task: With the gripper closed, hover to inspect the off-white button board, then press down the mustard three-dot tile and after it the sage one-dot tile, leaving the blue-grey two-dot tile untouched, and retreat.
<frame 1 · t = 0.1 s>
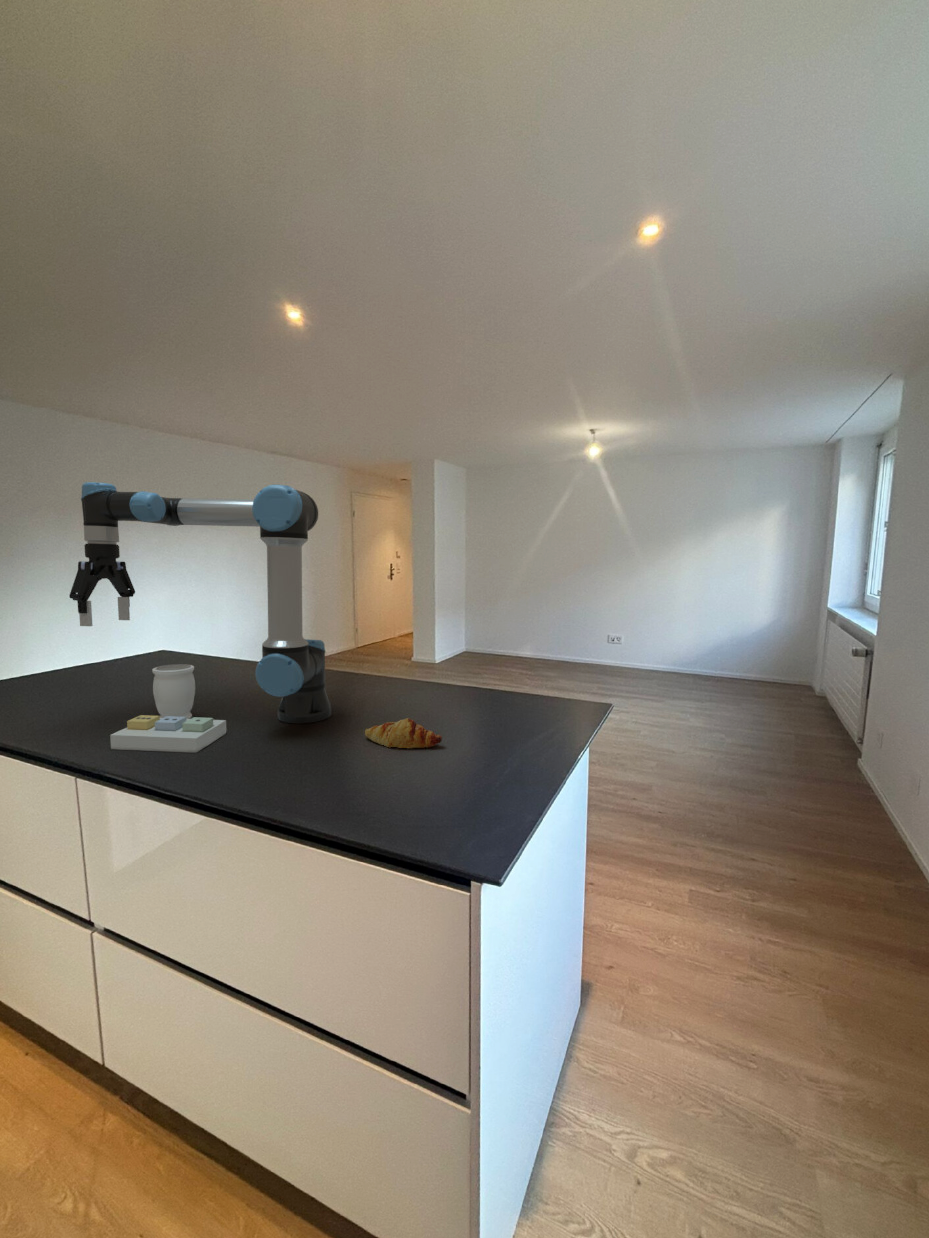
hand: (106, 623, 138), 28 cm above the countertop, fingers open, 13 cm apart
jar: (175, 719, 146), on the countertop
croissant: (402, 744, 132), on the countertop
tile one: (198, 726, 128), point 4 cm above the countertop, slide at 0.0 cm
tile three: (143, 724, 129), point 4 cm above the countertop, slide at 0.0 cm
button board: (171, 740, 129), on the countertop
tile two: (171, 725, 129), point 4 cm above the countertop, slide at 0.0 cm
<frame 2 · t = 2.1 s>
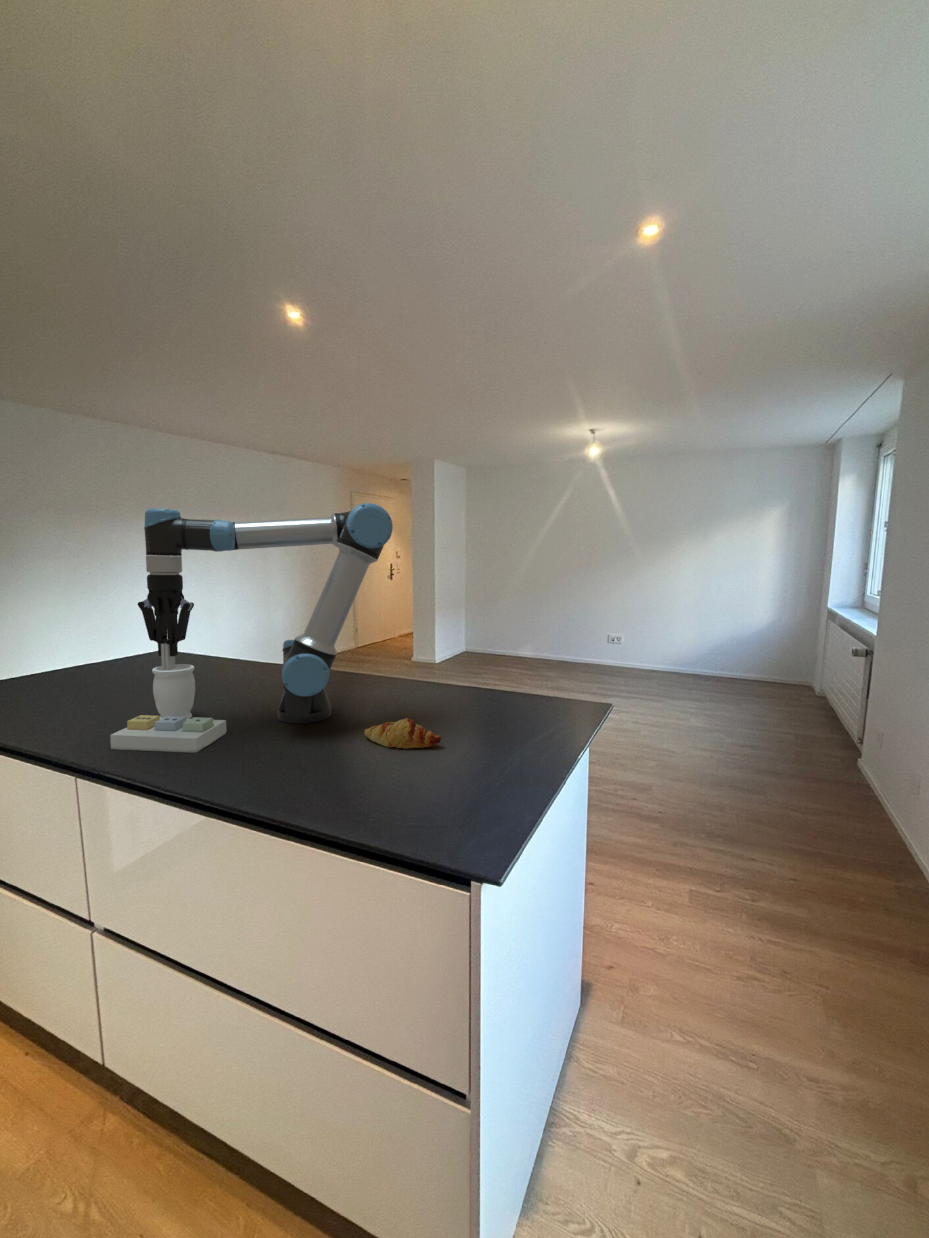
hand: (168, 669, 127), 18 cm above the countertop, fingers closed
nothing on the countertop moved.
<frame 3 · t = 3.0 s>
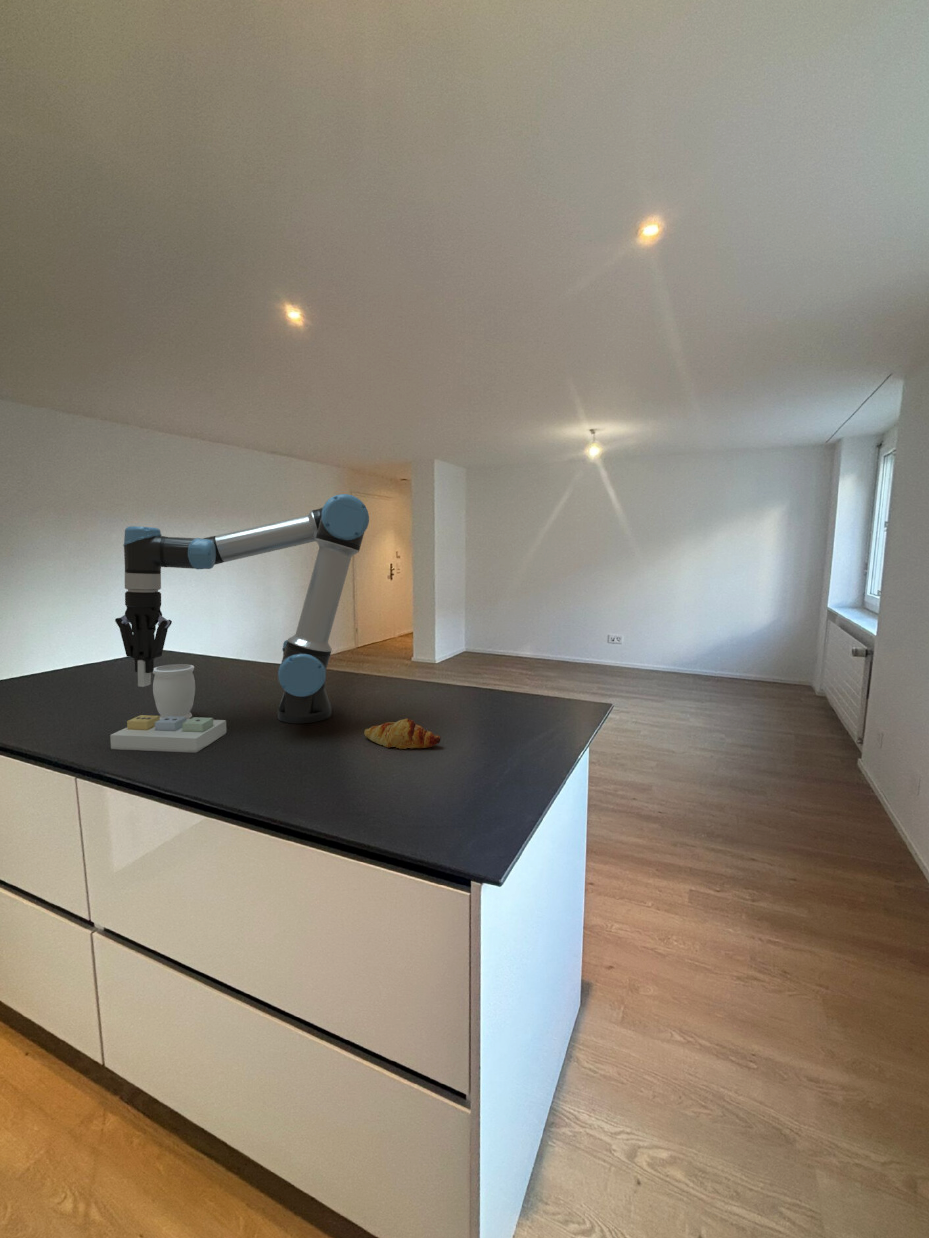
hand: (144, 685, 128), 14 cm above the countertop, fingers closed
nothing on the countertop moved.
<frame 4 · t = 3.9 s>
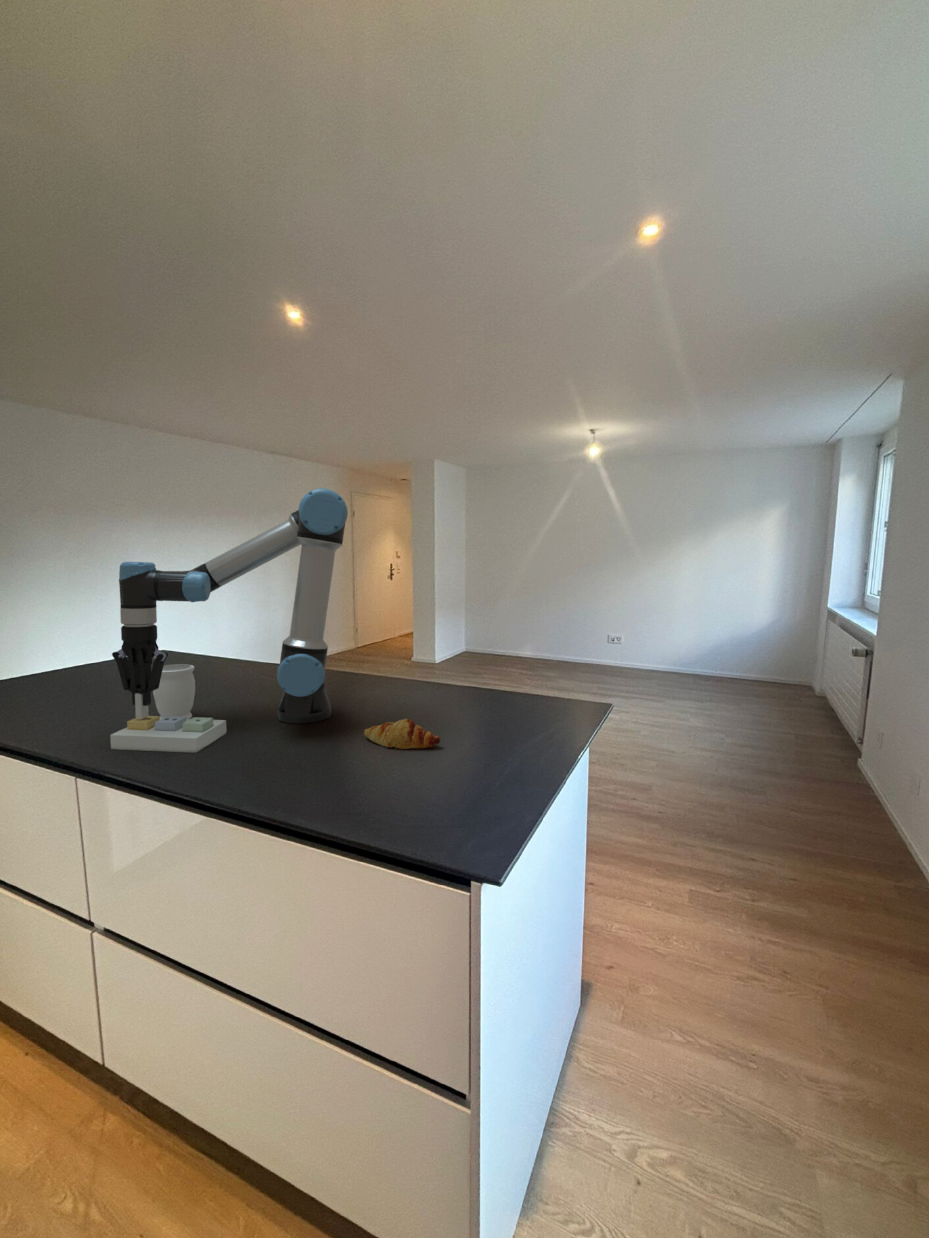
hand: (142, 717, 129), 6 cm above the countertop, fingers closed
tile three: (143, 724, 129), point 4 cm above the countertop, slide at 0.1 cm, touching gripper
everything else where it was.
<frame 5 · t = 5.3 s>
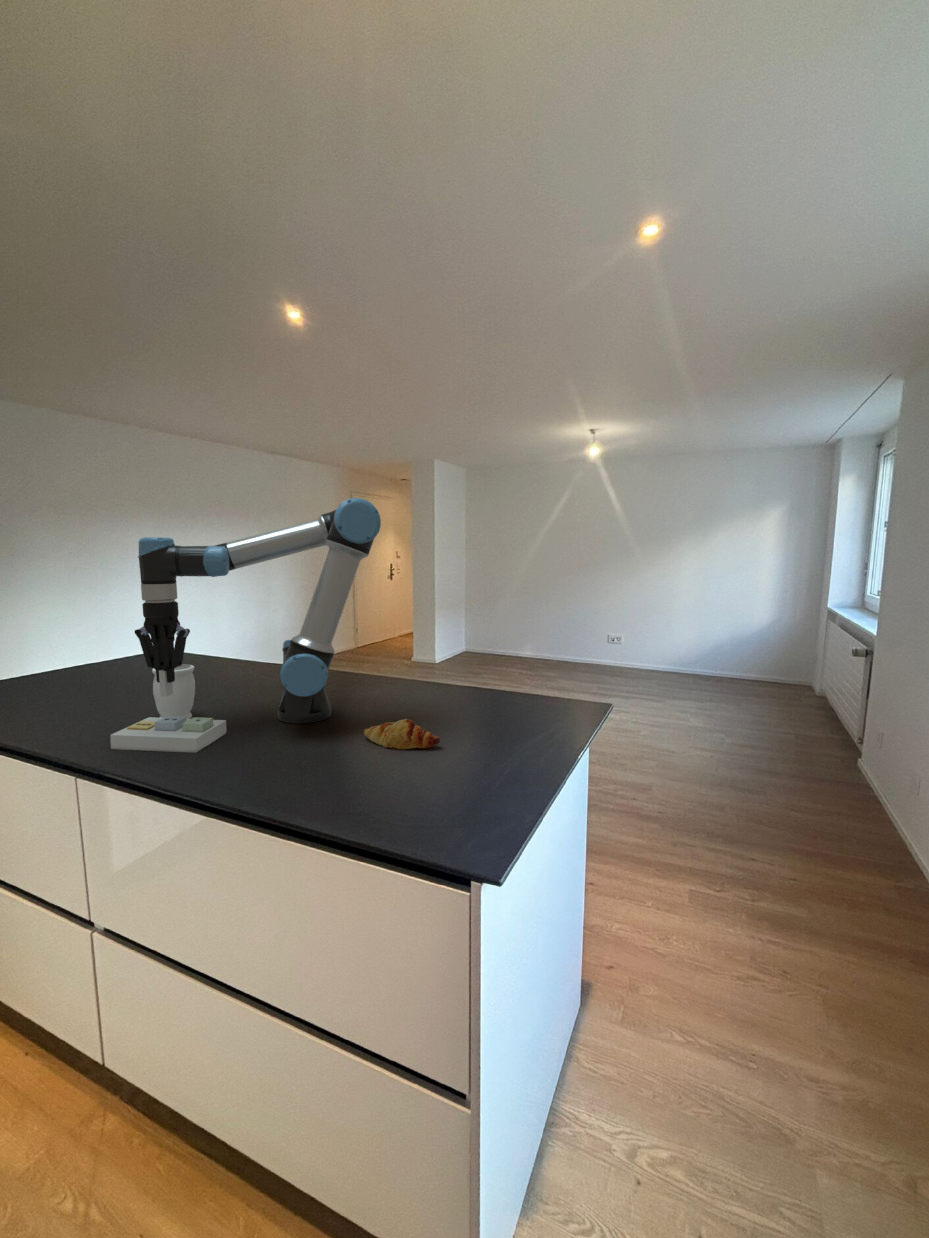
hand: (166, 694, 128), 12 cm above the countertop, fingers closed
tile three: (144, 730, 129), point 2 cm above the countertop, slide at 1.6 cm
everything else where it was.
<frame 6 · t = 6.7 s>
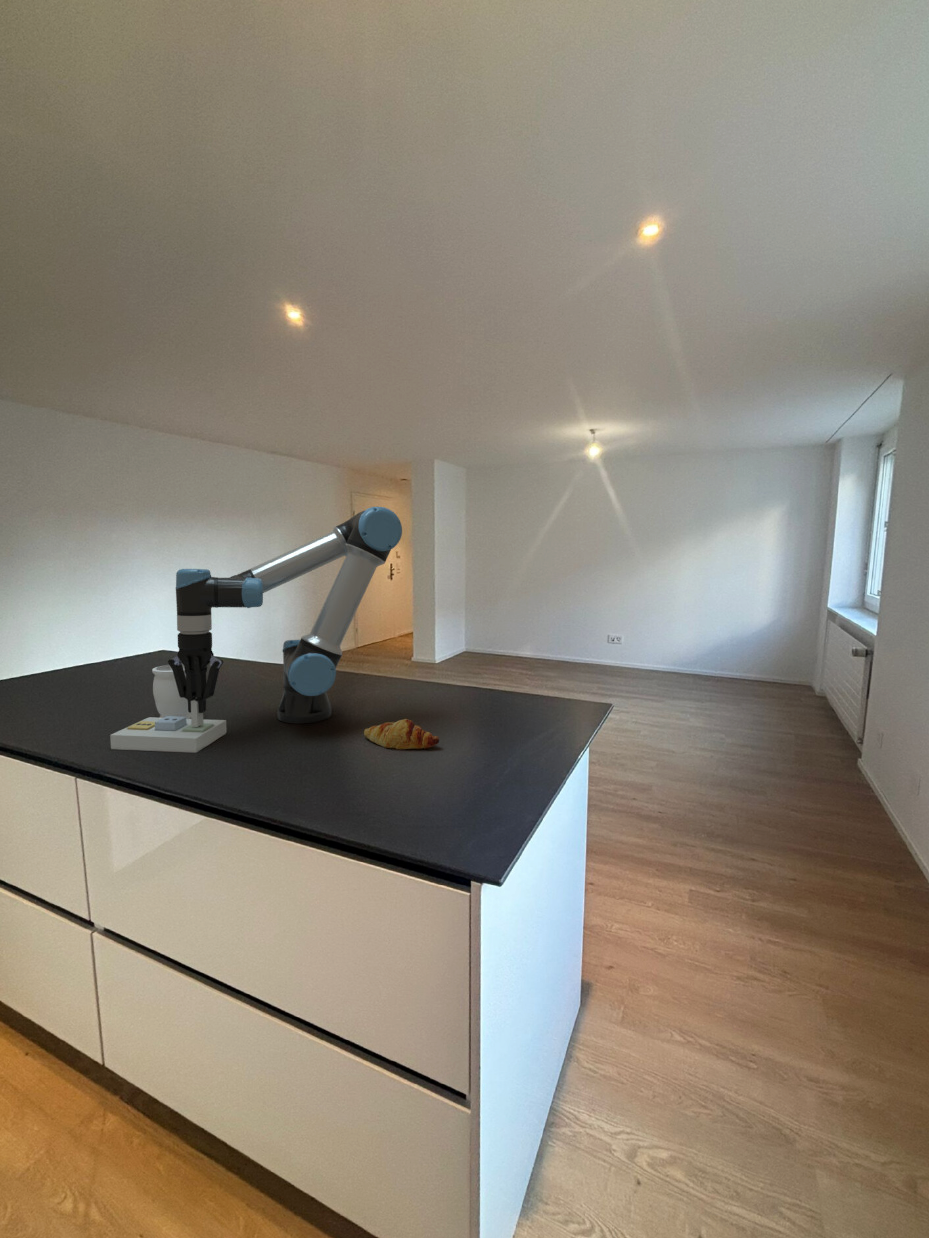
hand: (197, 724, 128), 4 cm above the countertop, fingers closed
tile one: (198, 731, 129), point 3 cm above the countertop, slide at 1.5 cm, touching gripper
everything else where it was.
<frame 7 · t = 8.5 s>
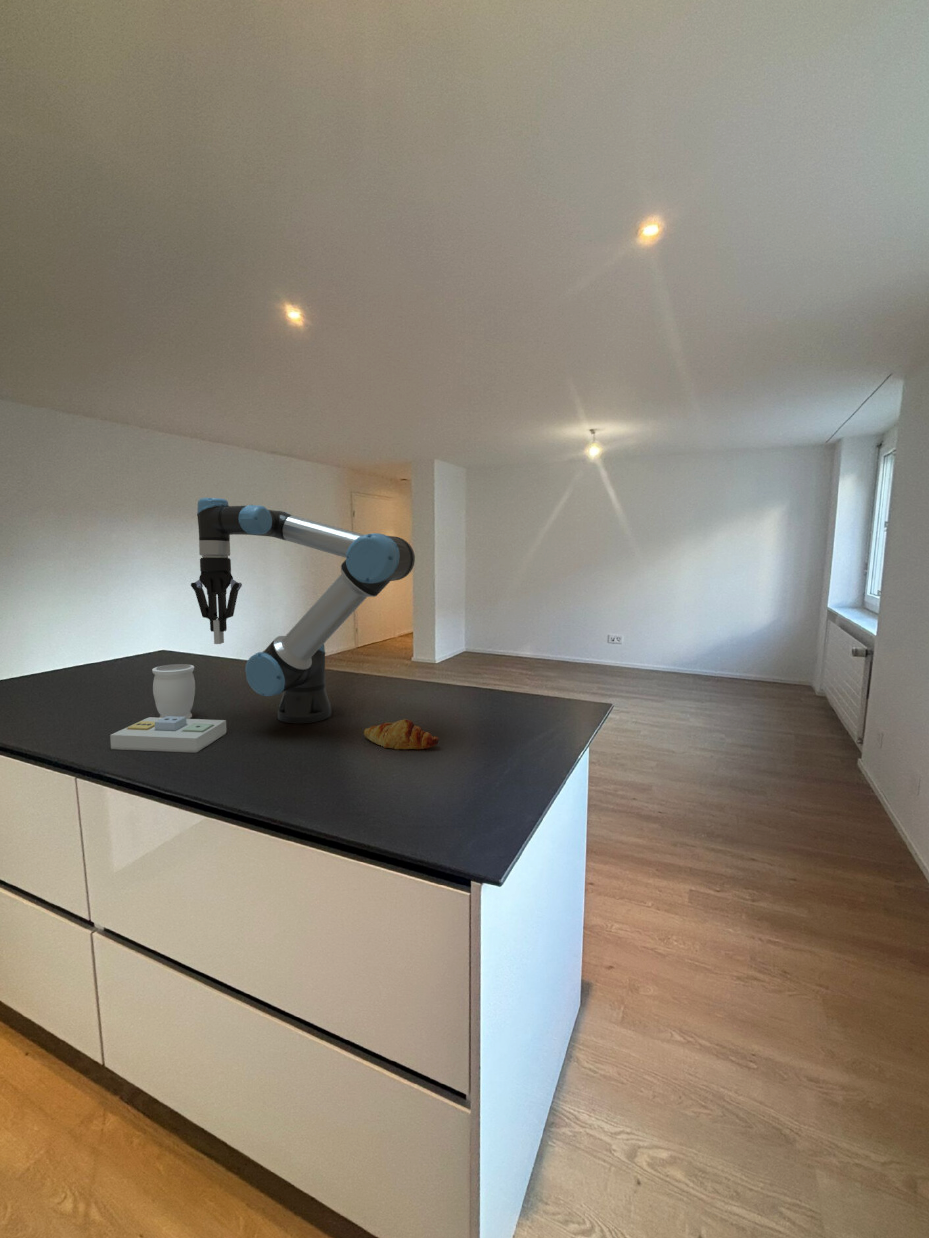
hand: (219, 643, 141), 23 cm above the countertop, fingers closed
tile one: (198, 732, 129), point 2 cm above the countertop, slide at 1.6 cm
everything else where it was.
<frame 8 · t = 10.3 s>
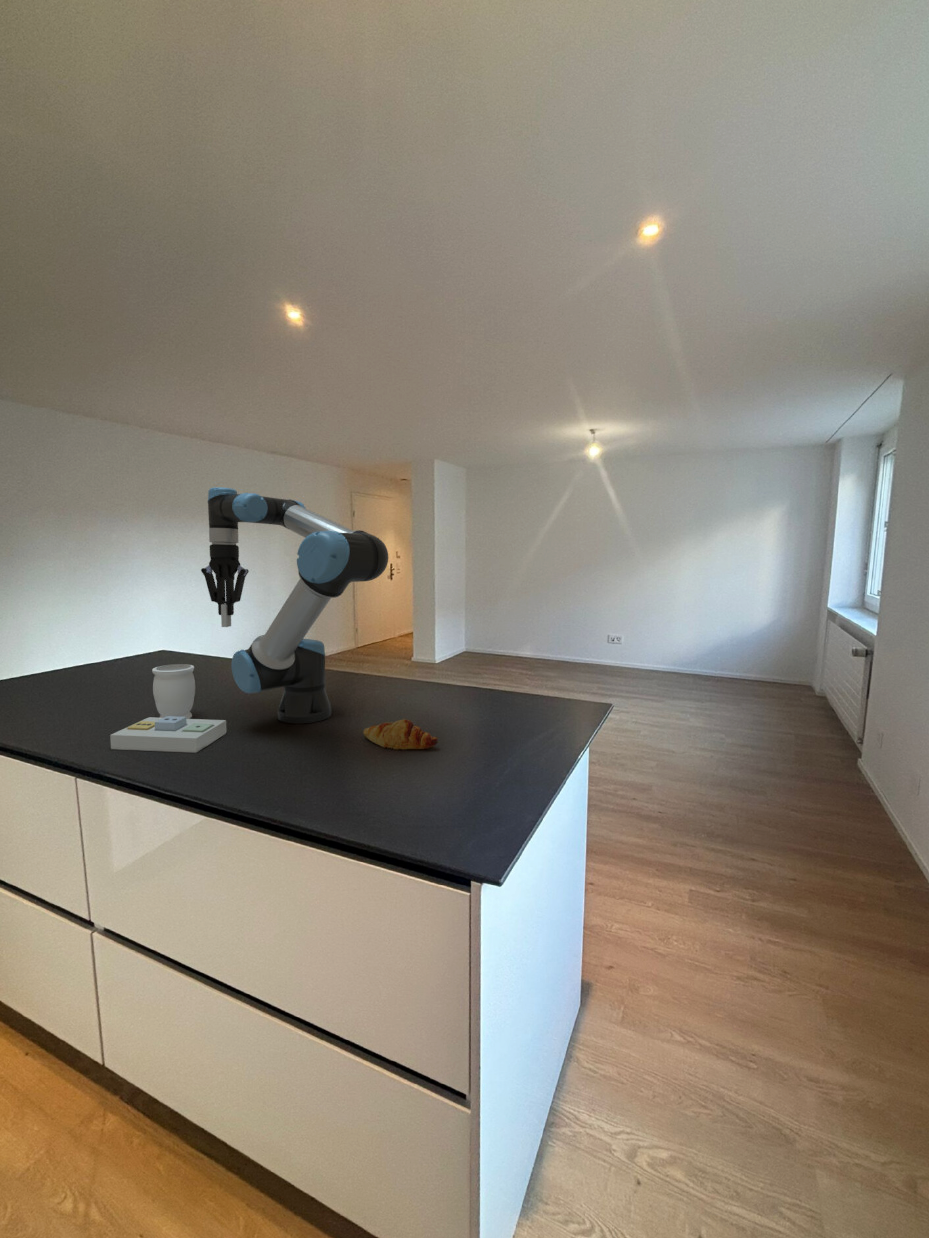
hand: (226, 626, 148), 26 cm above the countertop, fingers closed
nothing on the countertop moved.
at the end: tile three slide at 1.6 cm; tile one slide at 1.6 cm; tile two slide at 0.0 cm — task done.
